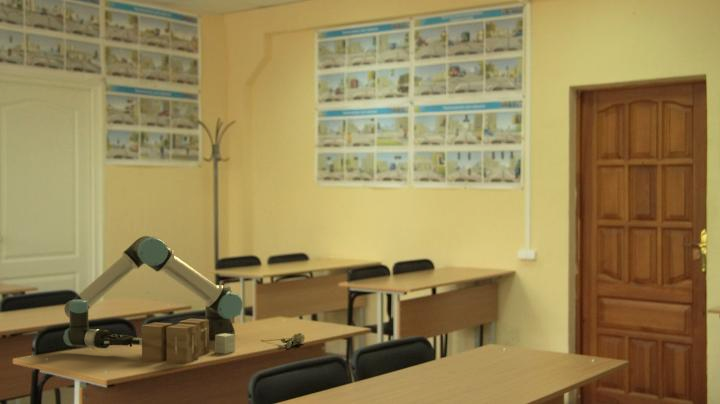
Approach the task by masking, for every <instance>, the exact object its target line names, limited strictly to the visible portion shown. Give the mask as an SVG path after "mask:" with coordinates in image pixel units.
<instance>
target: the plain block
mask: <svg viewBox="0 0 720 404" xmlns="http://www.w3.org/2000/svg"><path fill="white" fill-rule="evenodd" d="M172 325H174V323H172V322H171V323H169V322H156V321H155V322H151V323H146V324H142V325H141V338H142V345H141V361H142V362H143V361H144V362H145V361H148V362H158V363H162V362H165V361H167V336H166V327H169V326H172Z"/></svg>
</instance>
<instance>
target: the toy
mask: <svg viewBox="0 0 720 404" xmlns="http://www.w3.org/2000/svg"><path fill="white" fill-rule="evenodd" d="M305 339H306V337H305V334H304V333H303V332H298V333H295V334H293V336H292V337H290V338H289V337H287V338H284V337H283V338H278V339H267V340H264V339H262V340H261V342H271V341H280V342H281V343H283V344H282V345H279V344H278V345H277V347H278V348H279V349H281V350H284V349H290V348H291V347H294V346H296V345H301V344H303V343H304V341H305Z"/></svg>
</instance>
